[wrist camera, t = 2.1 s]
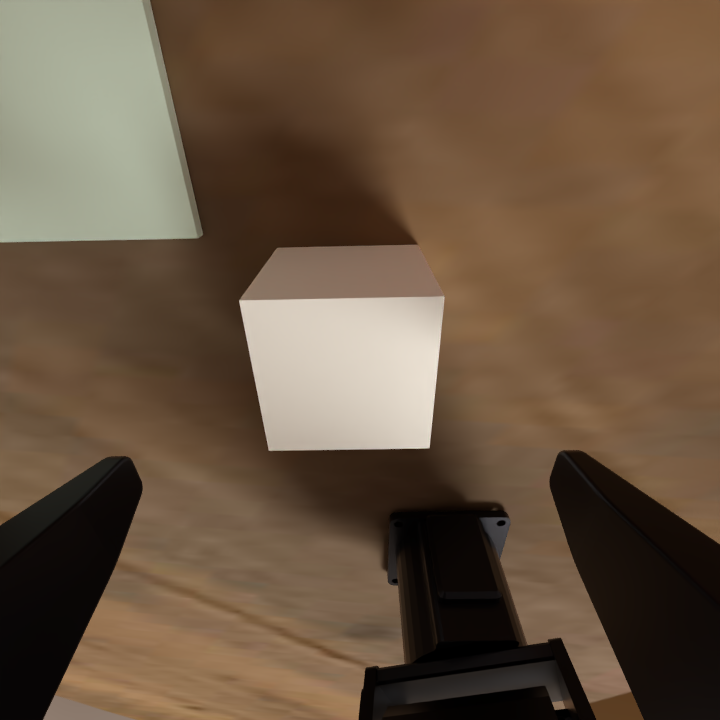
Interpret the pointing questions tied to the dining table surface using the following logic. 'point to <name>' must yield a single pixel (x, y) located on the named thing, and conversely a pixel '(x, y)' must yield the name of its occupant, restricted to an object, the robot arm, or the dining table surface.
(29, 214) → the pad
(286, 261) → the cube
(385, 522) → the dining table surface
